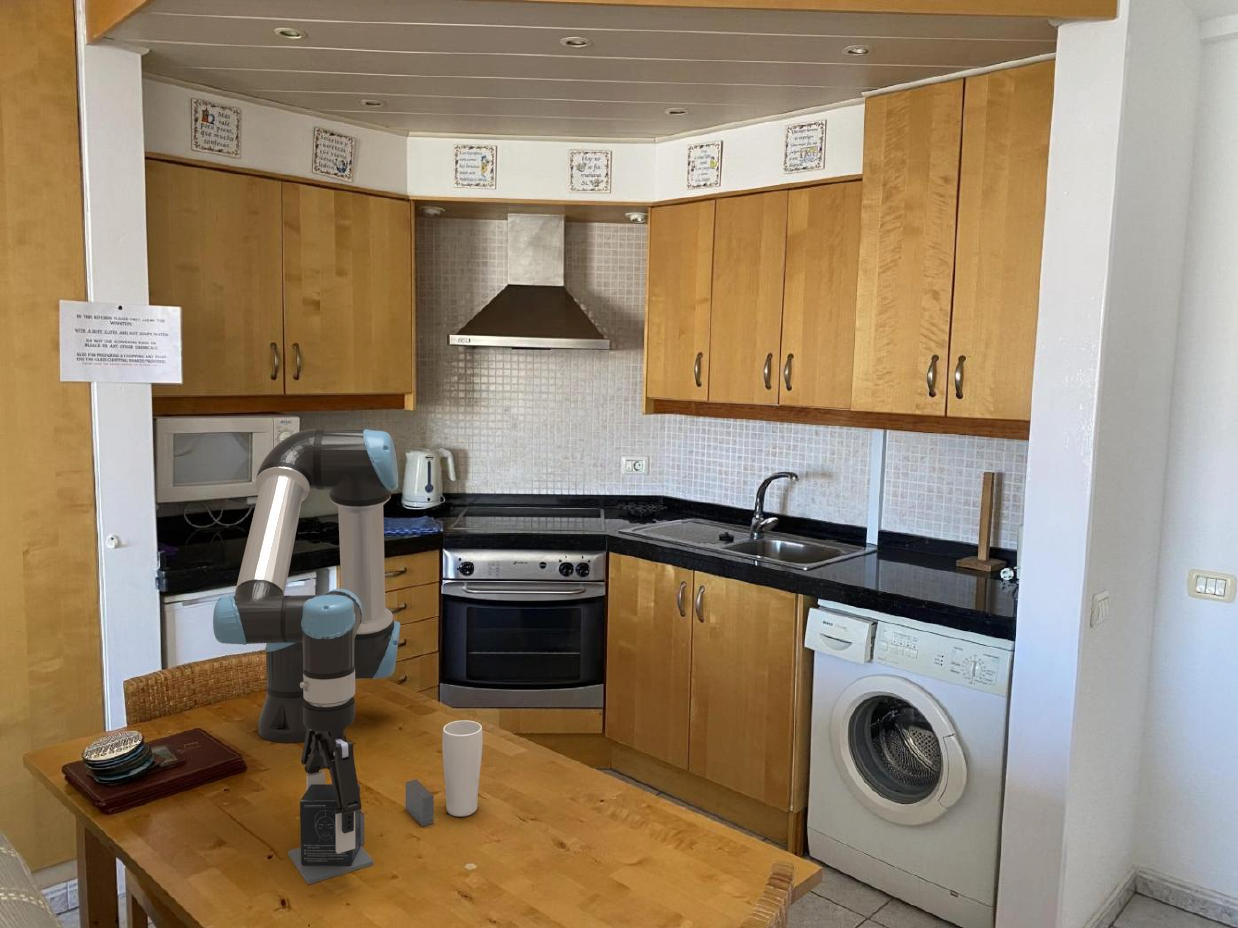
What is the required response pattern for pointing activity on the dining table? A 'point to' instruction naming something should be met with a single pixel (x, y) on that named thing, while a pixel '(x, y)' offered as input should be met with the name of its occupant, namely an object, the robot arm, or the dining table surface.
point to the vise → (414, 805)
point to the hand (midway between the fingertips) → (330, 830)
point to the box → (323, 828)
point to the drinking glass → (462, 766)
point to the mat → (328, 866)
